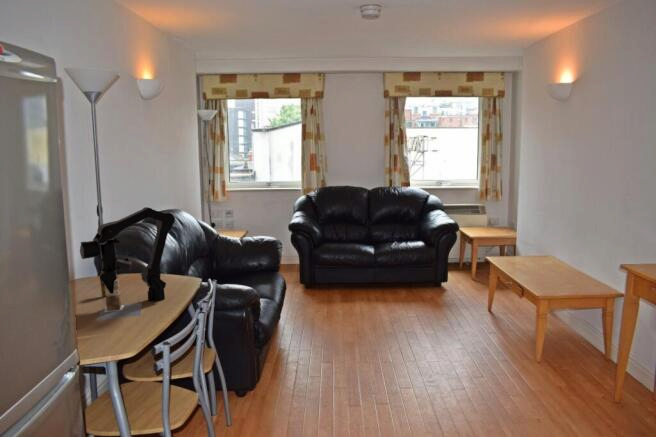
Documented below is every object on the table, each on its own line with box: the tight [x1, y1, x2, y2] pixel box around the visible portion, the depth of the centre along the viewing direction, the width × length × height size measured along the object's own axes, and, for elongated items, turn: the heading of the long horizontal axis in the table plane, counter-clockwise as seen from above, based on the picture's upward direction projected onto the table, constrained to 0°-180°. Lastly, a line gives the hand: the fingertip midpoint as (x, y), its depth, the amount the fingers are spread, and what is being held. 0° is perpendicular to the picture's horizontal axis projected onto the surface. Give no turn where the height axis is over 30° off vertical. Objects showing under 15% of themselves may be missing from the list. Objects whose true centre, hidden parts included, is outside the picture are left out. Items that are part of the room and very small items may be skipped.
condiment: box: [95, 270, 121, 299], centre depth 247 cm, size 7×8×12 cm
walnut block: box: [105, 294, 122, 311], centre depth 225 cm, size 5×5×5 cm
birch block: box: [104, 279, 121, 296], centre depth 224 cm, size 5×5×5 cm
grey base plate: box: [96, 302, 143, 322], centre depth 222 cm, size 16×18×1 cm
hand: (112, 291), depth 225 cm, fingers closed on birch block, 5 cm apart
